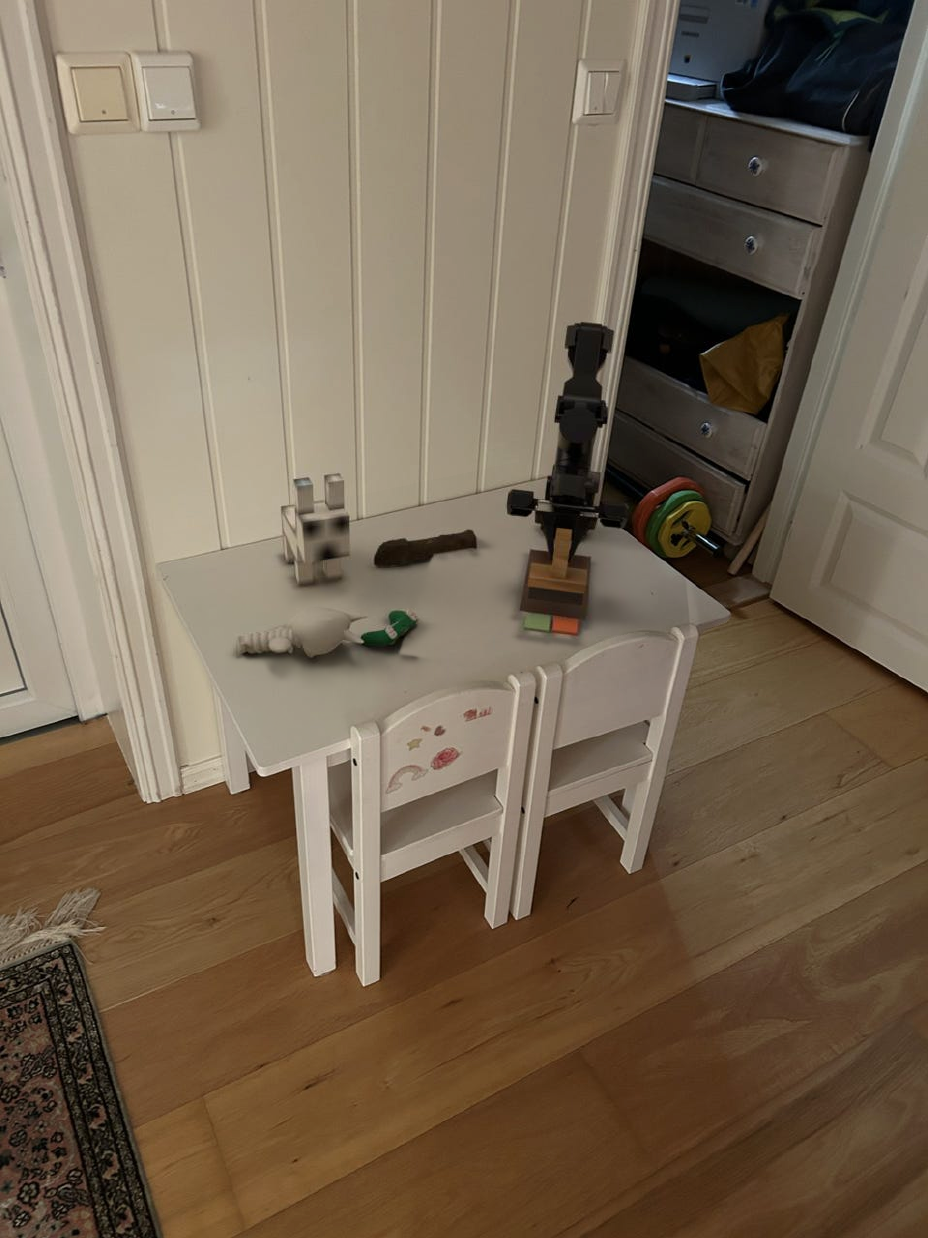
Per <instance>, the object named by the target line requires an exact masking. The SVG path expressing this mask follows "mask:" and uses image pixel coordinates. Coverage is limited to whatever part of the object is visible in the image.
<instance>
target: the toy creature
mask: <svg viewBox="0 0 928 1238" xmlns="http://www.w3.org/2000/svg"><path fill="white" fill-rule="evenodd" d="M367 618H370V616H369V615H359V614H357V615H356V614H348V613H347V612H345V611H342V610H337V609H333V608H332V609H331V608H324V607H314V608H307V609H305V610H303V611H301V612H299V613H297V614H296V615H295V616H294V617H293V619H292V621H291V623H290V625H281V626H278V627H276V628H274V629H272V630H270V631H267V630H265V631H262V632H259V631H257V632H254V633H252V632H249V633H247V634H246V635H243V636H237V637H236V649H237V652H238V653H239V654H240V655H243V654H245V653H247V652H248V653H249V654H255V653H257V654H261V653H263V652H274V653H280V654H281V653H286V652H289V654H292V653H293V651H294V649H293V645H295V647H296V648H299V649H301V648H303V651H304V653H305V654H306V656H307V657H308V658H311V659H313V658H314V657H315V656H318V655H320V656H321V655H324V654H328V653H329V652H332V651H333V650H334V649H336V648H337V647H338V646H339V645H340V644H341V643H342V641H345V642H350V643H356V644H362V643H363V642H364V641H363V640H362V639H361V637H359V636H358V635H356V634H355V633H354V632H352V631H351V630H350V627H351V624H352V623H354V622H357V621H359V620H362V619H367Z"/></svg>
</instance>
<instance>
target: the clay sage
mask: <svg viewBox="0 0 928 1238" xmlns="http://www.w3.org/2000/svg"><path fill="white" fill-rule="evenodd" d="M525 613H526V614H525V620H524V626H523V630H524V631H530V632H537V633H544V634H545V633H546V634H550V627H551V622H552V621H551V620H552V615H546V614H538V613H531V612H525Z"/></svg>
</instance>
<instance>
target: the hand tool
mask: <svg viewBox="0 0 928 1238" xmlns="http://www.w3.org/2000/svg"><path fill="white" fill-rule="evenodd" d="M477 540H478V539H477V536H476V534H475V533H474V530H473V529H466V530H464V531H462V532H457V533H450V534H449V533H447V534H439V535H437V536H434V537H428V538H422V539H421V538H420V539H415V540H414V539H413V540H408V539H406V537H403V538H397V539H391V540H390V539H389V540H386V541H383V542H382V543H381V544H380V545H379V546H378V547H377V550H376V552H375V554H374V556H373V563H374V564H373V565H374V566H377V567H394V566H407V564H408V563H410V562H411V561H416V560H421V559H430V558H432V557H434V555H438V554H443V553H450V552H456V551H461V550H468V549H475V550H476V549H477V546H478V541H477Z"/></svg>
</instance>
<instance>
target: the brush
mask: <svg viewBox="0 0 928 1238" xmlns="http://www.w3.org/2000/svg"><path fill="white" fill-rule="evenodd" d="M571 537H572V530H570V529H562V528H557V530H556V538H555V540H554V553H553V561H552V565H546V564H538V563H531V568H530V574H529V581H528V586H529V592H528V598H529V599H537V600H544V601H552V602H559V603H567V604H575V605H582V599H583V594H585V589H586V581H587V570H585V569H577V568H570V567H567V565H568V558H569V551H570V547H571V544H572V540H571Z"/></svg>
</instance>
